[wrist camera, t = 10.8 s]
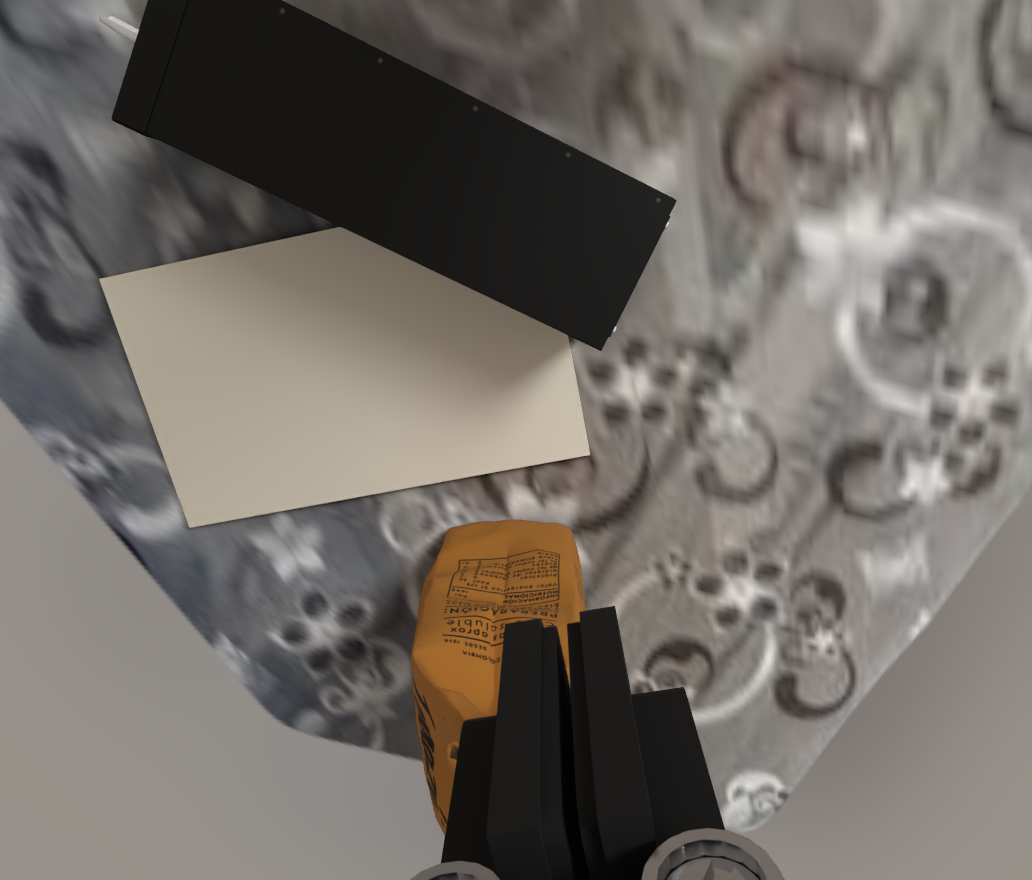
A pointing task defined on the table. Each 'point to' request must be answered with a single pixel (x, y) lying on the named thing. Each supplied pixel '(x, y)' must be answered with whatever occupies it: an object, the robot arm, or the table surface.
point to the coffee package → (483, 627)
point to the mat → (335, 376)
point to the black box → (392, 157)
